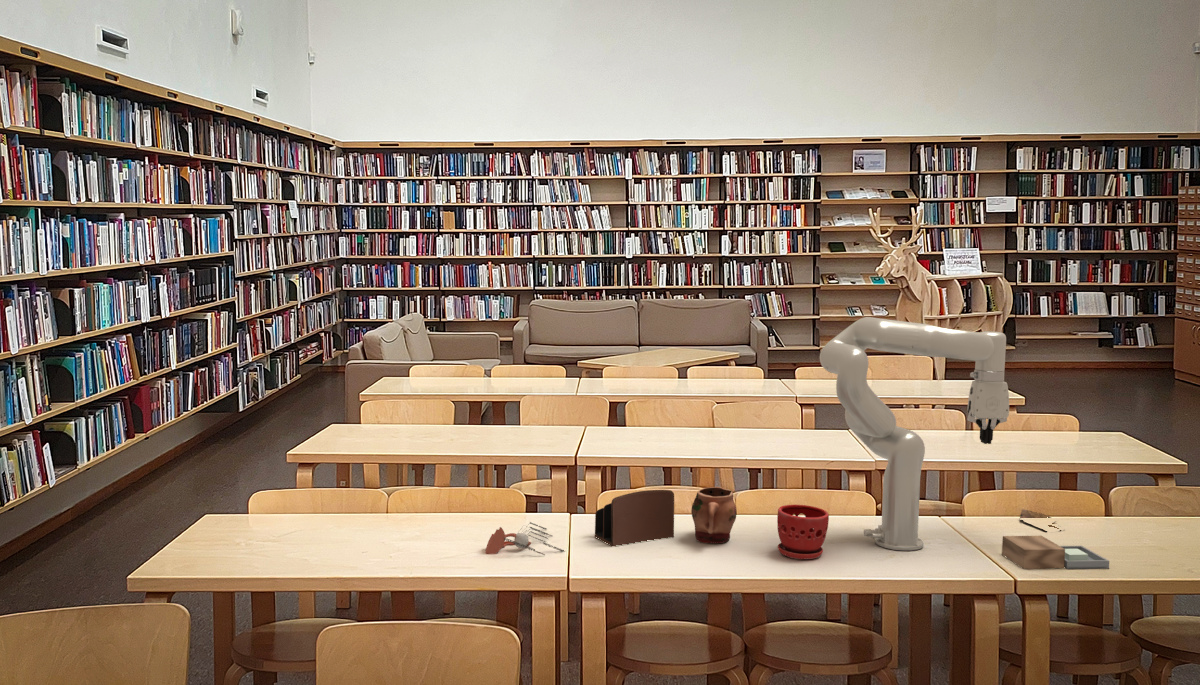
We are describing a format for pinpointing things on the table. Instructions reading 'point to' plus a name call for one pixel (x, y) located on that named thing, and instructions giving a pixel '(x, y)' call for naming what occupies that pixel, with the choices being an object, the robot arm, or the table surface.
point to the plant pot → (801, 531)
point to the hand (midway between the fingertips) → (985, 442)
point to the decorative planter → (713, 514)
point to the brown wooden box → (1033, 552)
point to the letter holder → (636, 517)
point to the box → (1092, 562)
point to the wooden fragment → (1034, 515)
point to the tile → (1075, 555)
